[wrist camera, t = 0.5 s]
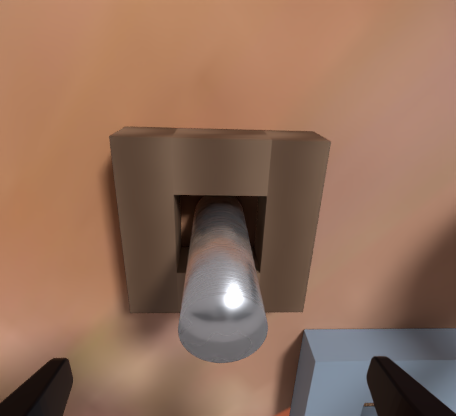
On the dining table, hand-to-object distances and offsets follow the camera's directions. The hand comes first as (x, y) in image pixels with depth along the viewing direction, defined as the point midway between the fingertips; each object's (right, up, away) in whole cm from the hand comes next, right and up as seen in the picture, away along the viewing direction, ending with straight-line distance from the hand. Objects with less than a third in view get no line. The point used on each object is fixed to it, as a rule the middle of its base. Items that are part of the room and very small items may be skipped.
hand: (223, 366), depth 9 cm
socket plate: (+13, -11, +18) cm, 25 cm away
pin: (0, +4, +11) cm, 12 cm away
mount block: (0, +4, +11) cm, 12 cm away
